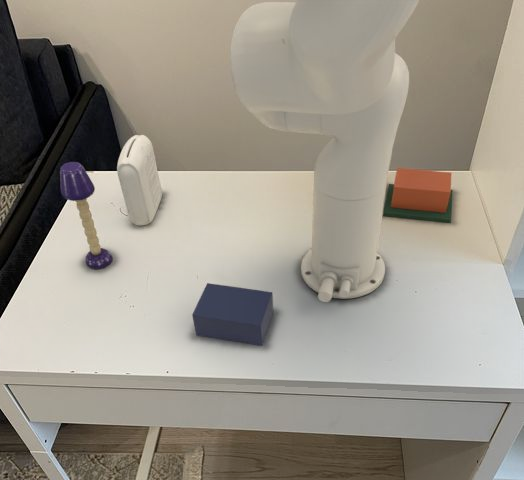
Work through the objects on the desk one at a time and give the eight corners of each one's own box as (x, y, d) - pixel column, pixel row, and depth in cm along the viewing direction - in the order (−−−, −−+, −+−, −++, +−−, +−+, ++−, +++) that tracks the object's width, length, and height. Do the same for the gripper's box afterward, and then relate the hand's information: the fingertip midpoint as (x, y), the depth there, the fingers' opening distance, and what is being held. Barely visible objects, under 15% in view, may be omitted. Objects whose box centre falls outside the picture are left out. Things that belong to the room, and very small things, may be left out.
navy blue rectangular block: (262, 345, 74) (260, 325, 71) (196, 335, 76) (192, 314, 73) (273, 312, 78) (272, 292, 75) (210, 303, 80) (207, 282, 77)
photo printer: (142, 192, 100) (126, 127, 91) (165, 193, 100) (151, 127, 90) (128, 226, 93) (109, 160, 84) (152, 227, 93) (136, 160, 84)
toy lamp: (111, 248, 90) (82, 154, 77) (120, 264, 87) (90, 169, 74) (83, 258, 88) (48, 163, 76) (90, 274, 85) (55, 179, 73)
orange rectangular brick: (445, 213, 91) (450, 192, 88) (390, 207, 93) (393, 186, 90) (446, 193, 95) (451, 172, 92) (393, 188, 96) (397, 167, 93)
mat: (450, 222, 90) (451, 219, 90) (383, 215, 92) (383, 212, 92) (451, 192, 96) (452, 189, 95) (388, 186, 98) (388, 183, 97)
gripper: (421, -111, 59) (399, 56, 72) (435, -139, 70) (414, 11, 83) (353, -111, 61) (343, 52, 74) (377, -138, 72) (364, 9, 85)
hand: (380, 30), depth 78 cm, fingers open, 9 cm apart
